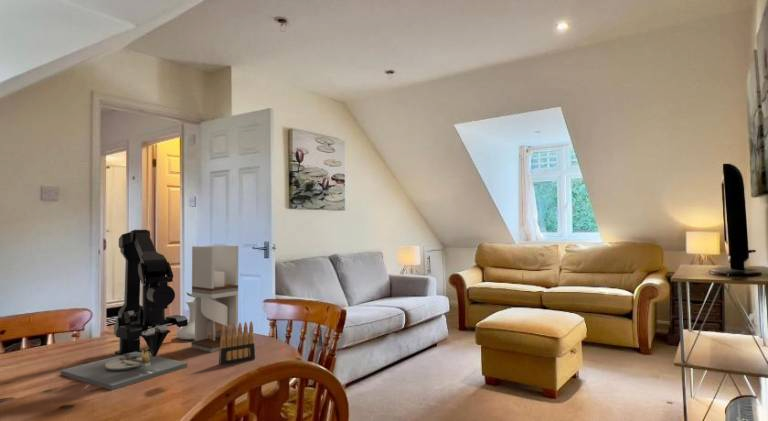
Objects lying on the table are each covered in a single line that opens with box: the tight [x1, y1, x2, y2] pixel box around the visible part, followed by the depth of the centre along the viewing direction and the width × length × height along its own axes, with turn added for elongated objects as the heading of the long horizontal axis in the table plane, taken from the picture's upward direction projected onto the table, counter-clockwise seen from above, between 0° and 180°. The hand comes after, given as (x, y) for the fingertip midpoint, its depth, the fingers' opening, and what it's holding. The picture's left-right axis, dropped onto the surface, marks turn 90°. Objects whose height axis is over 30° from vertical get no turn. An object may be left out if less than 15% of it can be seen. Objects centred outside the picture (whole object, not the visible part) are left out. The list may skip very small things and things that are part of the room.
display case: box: [191, 244, 239, 353], centre depth 160 cm, size 11×11×35 cm
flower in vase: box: [175, 292, 195, 340], centre depth 172 cm, size 13×11×25 cm
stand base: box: [60, 352, 188, 391], centre depth 133 cm, size 26×22×1 cm
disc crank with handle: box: [105, 348, 151, 371], centre depth 132 cm, size 15×10×6 cm, turn 63°
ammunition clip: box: [218, 320, 256, 366], centre depth 141 cm, size 11×2×12 cm, turn 127°
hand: (153, 356), depth 131 cm, fingers closed
